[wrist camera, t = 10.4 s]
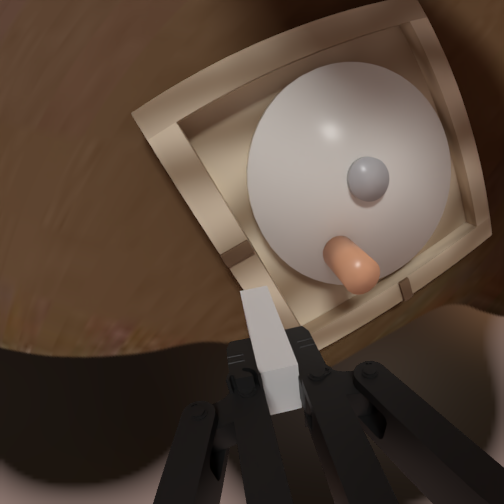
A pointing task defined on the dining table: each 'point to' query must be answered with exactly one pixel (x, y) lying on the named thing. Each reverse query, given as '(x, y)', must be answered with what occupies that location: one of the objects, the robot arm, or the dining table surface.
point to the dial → (348, 173)
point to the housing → (239, 138)
